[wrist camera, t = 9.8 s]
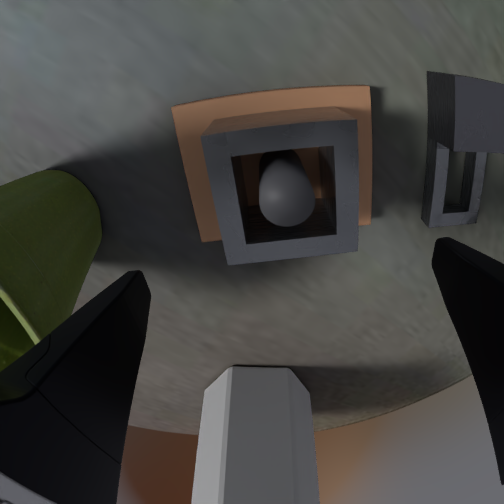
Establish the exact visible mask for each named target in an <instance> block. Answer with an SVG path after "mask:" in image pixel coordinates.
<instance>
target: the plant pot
mask: <svg viewBox="0 0 504 504" xmlns="http://www.w3.org/2000/svg"><path fill="white" fill-rule="evenodd" d="M101 238H102V228H101V220H100V212H99V208H98V205H97V203H96V201H95V199H94V197H93V196H92V195H91V193H90V192H89V190H88V189H87V188H86V187H85V185H84V184H83V183H82V182H81V181H79V180H78V179H77V178H75V177H74V176H72V175H71V174H69V173H67V172H64V171H60V170H43V171H40V172H36V173H33V174H31V175H28V176H25V177H22V178H20V179H17V180H14V181H12V182H9V183H7V184H4V185H2V186H0V372H1V371H2V370H3V369H5V368H6V367H7V366H9V365H10V364H11V363H13V362H14V361H15V360H17V359H18V358H19V357H21V356H22V355H23V354H24V353H26V352H27V351H28V350H30V349H31V348H32V347H33V346H35V345H36V344H37V343H38V342H39V341H41V340H42V339H43V338H44V337H46V336H47V335H48V334H51V332H52V331H53V330H54V329H55V328H57V327H58V326H59V325H60V324H61V323H63V322H64V321H65V320H66V319H68V318H69V317H70V316H71V314H72V311H73V309H74V306H75V303H76V300H77V298H78V295H79V292H80V290H81V287H82V285H83V282H84V280H85V277H86V275H87V273H88V270H89V268H90V265H91V263H92V261H93V258H94V256H95V254H96V252H97V249H98V247H99V245H100V242H101Z"/></svg>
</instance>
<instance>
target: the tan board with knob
mask: <svg viewBox="0 0 504 504" xmlns="http://www.w3.org/2000/svg"><path fill="white" fill-rule="evenodd" d="M330 106H334V107H336V108H338V109H340V110H342V111H343V112H345V113H347V114H349V115H350V116H352V117H354V118H356V119H357V126H358V151H359V226H360V225H370V224H371V205H372V120H371V99H370V86H366V85H332V86H311V87H297V88H285V89H274V90H265V91H257V92H249V93H241V94H234V95H228V96H222V97H216V98H210V99H204V100H199V101H194V102H189V103H184V104H179V105H175V106H173V107H171V109H172V114H173V119H174V124H175V128H176V133H177V138H178V142H179V147H180V152H181V156H182V161H183V165H184V170H185V174H186V178H187V183H188V187H189V191H190V195H191V200H192V204H193V208H194V212H195V216H196V220H197V224H198V228H199V232H200V236H201V240H202V242H209V241H218V240H222V237H221V233H220V228H219V224H218V219H217V214H216V210H215V205H214V201H213V196H212V191H211V186H210V182H209V177H208V172H207V167H206V163H205V158H204V153H203V148H202V143H201V138H200V136H201V135H202V134H203V132H204V131H205V130H206V129H207V127H208V126H209V125H210V124H211V123H212V121H213V120H214V119H220V118H227V117H233V116H240V115H247V114H254V113H262V112H271V111H280V110H290V109H301V108H314V107H330ZM240 157H241V163H242V169H243V175H244V181H245V187H246V193H247V199H248V205H249V206H252V205H260V209H261V211H262V213H263V215H264V216H265V217H266V218H267V219H268V220H269V221H270V222H272V223H274V224H276V225H279V226H286V227H287V226H294V225H297V224H300V223H302V222H303V221H305V220H306V219H307V218H308V217H309V216H310V215H311V213H312V212H313V210H314V207H315V198H321V185H320V169H319V154H318V147H309V148H299V149H289V150H279V151H270V152H262V153H254V154H247V155H240Z"/></svg>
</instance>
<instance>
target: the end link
mask: <svg viewBox="0 0 504 504" xmlns="http://www.w3.org/2000/svg"><path fill="white" fill-rule="evenodd" d="M200 138H201V143H202V148H203V153H204V158H205V163H206V167H207V172H208V177H209V182H210V186H211V191H212V196H213V201H214V205H215V210H216V214H217V219H218V224H219V228H220V233H221V237H222V242H223V246H224V251H225V255H226V259H227V264H228V265H237V264H246V263H256V262H265V261H274V260H283V259H292V258H301V257H310V256H319V255H328V254H337V253H346V252H354V251H358V227H359V151H358V126H357V119H356V118H354V117H352V116H350V115H349V114H347V113H345V112H343V111H342V110H340V109H338V108H336V107H334V106H330V107H314V108H301V109H290V110H280V111H271V112H262V113H254V114H247V115H240V116H233V117H227V118H220V119H214V120H213V121H212V123H211V124H210V125H209V126H208V127H207V129H206V130H205V131H204V132H203V134H202V135H201V136H200ZM309 147H318V154H319V169H320V185H321V198H315V207H314V210H313V212H312V213H311V215H310V216H309V217H308V218H307V219H306V220H305V221H303V222H302V223H300V224H297V225H294V226H287V227H286V226H279V225H276V224H274V223H272V222H270V221H269V220H268V219H267V218H266V217H265V216H264V215H263V213H262V211H261V209H260V205H252V206H249V205H248V199H247V193H246V187H245V181H244V175H243V169H242V163H241V157H240V155H247V154H254V153H262V152H270V151H279V150H289V149H299V148H309Z"/></svg>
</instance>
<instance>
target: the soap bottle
mask: <svg viewBox="0 0 504 504" xmlns="http://www.w3.org/2000/svg"><path fill="white" fill-rule="evenodd" d="M194 476H195V477H194V485H193V494H192V503H191V504H320V502H319V489H318V476H317V463H316V451H315V441H314V430H313V420H312V410H311V401H310V393H309V392H308V390H307V389H306V388H305V387H304V385H303V384H302V383H301V382H300V380H299V379H298V378H297V377H296V375H295V374H294V373H293V372H292V370H290V369H289V368H276V367H241V366H231V367H229V368H228V369H227V370H226V371H225V372H224V373H223V374H222V375H221V376H219V377H218V378H217V379H216V380H215V381H214V382H213V383H212V384H211V385H210V386H209V387H208V388H207V389H206V390H205V393H204V400H203V408H202V416H201V424H200V432H199V441H198V449H197V458H196V466H195V475H194Z"/></svg>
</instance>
